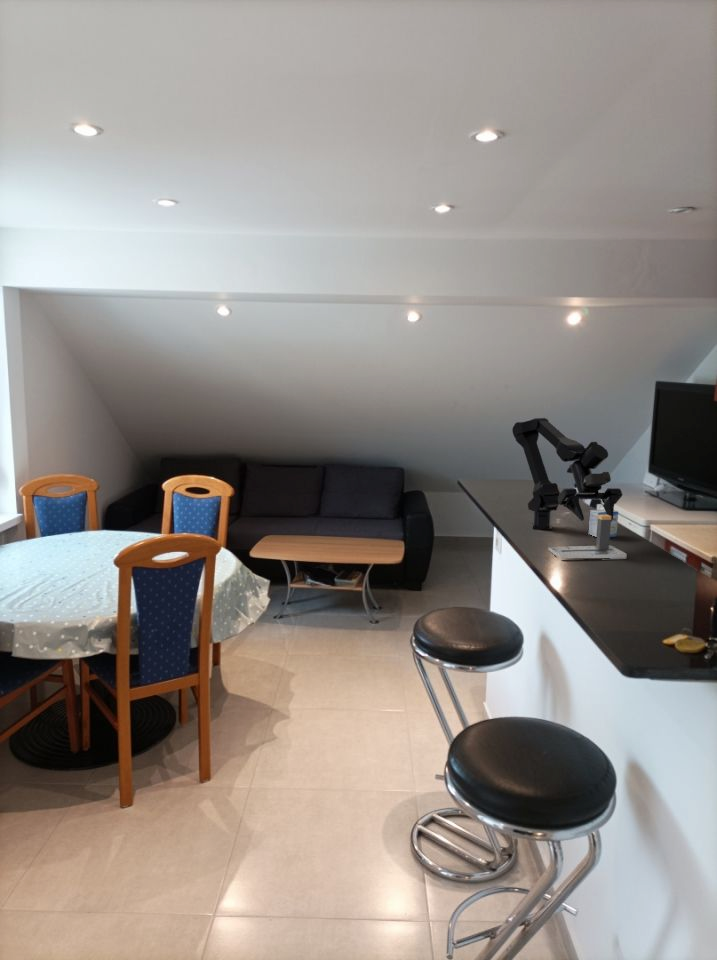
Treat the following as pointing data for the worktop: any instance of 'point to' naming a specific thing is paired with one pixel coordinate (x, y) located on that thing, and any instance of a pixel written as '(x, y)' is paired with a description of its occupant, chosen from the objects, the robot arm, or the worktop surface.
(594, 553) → the fader console
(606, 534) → the fader lever
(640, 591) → the worktop surface
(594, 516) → the medicine box
